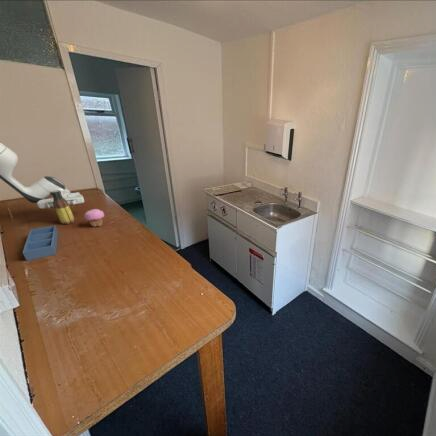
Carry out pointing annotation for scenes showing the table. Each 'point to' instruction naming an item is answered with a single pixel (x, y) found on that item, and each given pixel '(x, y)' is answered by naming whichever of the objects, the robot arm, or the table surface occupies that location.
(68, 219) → the sauce bottle
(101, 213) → the cupcake
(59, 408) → the table surface
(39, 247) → the tray
